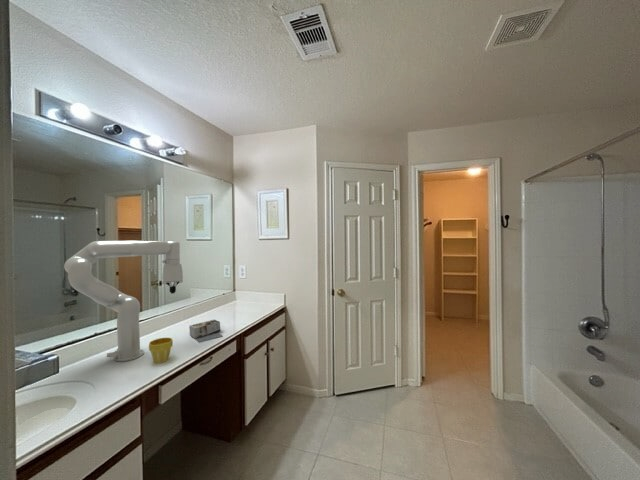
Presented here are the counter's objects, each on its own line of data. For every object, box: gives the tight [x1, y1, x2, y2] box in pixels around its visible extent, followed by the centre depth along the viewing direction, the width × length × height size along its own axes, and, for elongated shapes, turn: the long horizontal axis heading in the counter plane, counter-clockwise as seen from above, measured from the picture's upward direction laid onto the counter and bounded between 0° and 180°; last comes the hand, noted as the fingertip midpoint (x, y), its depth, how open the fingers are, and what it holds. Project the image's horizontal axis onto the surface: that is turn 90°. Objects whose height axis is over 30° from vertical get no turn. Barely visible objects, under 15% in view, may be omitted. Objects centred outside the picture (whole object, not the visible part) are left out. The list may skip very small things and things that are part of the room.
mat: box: [194, 332, 224, 343], centre depth 170 cm, size 14×20×1 cm
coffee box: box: [188, 319, 222, 339], centre depth 172 cm, size 9×6×16 cm
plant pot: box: [148, 337, 174, 364], centre depth 136 cm, size 10×10×10 cm
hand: (172, 293), depth 159 cm, fingers closed
